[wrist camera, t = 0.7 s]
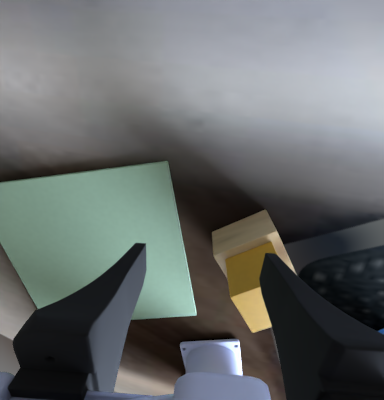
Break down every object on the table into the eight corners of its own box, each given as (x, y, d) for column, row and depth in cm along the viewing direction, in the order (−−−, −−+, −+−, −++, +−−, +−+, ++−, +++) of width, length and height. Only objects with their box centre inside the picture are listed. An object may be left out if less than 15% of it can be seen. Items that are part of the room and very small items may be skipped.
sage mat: (196, 312, 31) (196, 315, 30) (48, 323, 33) (47, 325, 32) (167, 160, 23) (167, 161, 22) (-29, 185, 24) (-32, 187, 24)
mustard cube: (287, 276, 23) (306, 316, 19) (243, 291, 24) (252, 333, 20) (271, 241, 21) (287, 277, 17) (224, 259, 22) (229, 297, 18)
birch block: (285, 252, 26) (299, 279, 23) (234, 271, 28) (239, 299, 24) (265, 208, 24) (276, 230, 21) (211, 231, 26) (213, 255, 22)
